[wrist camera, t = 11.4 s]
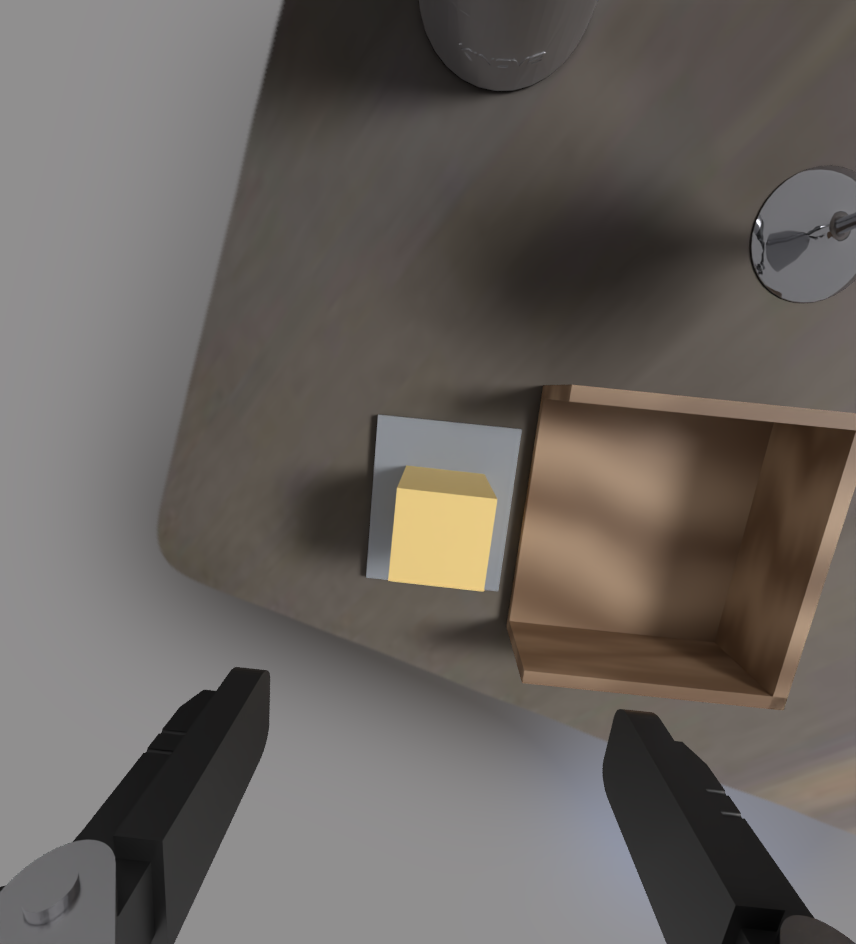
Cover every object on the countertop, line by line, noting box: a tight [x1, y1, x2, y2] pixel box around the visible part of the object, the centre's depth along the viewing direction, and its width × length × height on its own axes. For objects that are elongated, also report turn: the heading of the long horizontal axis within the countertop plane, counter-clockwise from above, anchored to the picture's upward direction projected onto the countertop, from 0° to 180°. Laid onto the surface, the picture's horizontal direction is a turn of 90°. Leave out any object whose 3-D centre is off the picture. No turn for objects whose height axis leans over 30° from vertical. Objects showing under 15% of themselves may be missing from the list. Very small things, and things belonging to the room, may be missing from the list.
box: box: [506, 385, 856, 710], centre depth 24 cm, size 17×15×6 cm
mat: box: [366, 415, 522, 591], centre depth 27 cm, size 11×9×1 cm
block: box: [388, 465, 497, 592], centre depth 24 cm, size 5×5×6 cm
